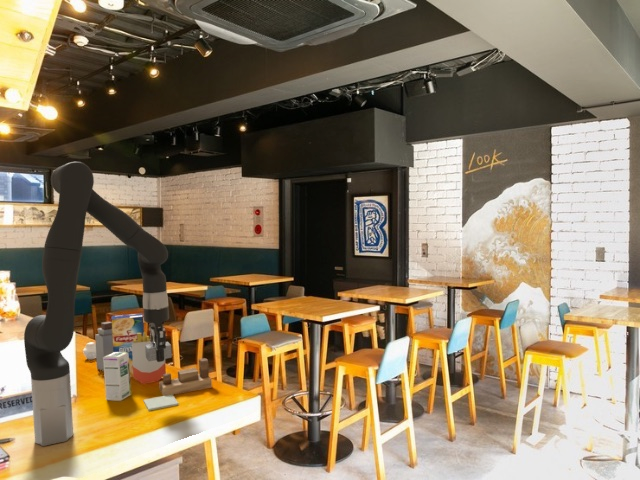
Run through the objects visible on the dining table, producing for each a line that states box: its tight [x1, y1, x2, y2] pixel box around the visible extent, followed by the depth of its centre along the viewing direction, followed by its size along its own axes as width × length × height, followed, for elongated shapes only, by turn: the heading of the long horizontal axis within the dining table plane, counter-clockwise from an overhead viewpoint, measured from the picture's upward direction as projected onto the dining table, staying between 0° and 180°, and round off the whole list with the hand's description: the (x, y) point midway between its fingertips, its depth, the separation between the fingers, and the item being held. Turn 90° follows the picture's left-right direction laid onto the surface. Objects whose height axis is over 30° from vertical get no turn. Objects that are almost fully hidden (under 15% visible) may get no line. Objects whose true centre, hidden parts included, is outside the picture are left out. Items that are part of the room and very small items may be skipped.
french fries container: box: [132, 331, 167, 384], centre depth 183 cm, size 5×11×18 cm, turn 113°
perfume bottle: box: [94, 321, 113, 372], centre depth 199 cm, size 7×7×18 cm
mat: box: [143, 394, 180, 412], centre depth 161 cm, size 9×9×1 cm
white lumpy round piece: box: [82, 341, 96, 360], centre depth 214 cm, size 6×6×7 cm
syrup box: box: [103, 352, 132, 402], centre depth 166 cm, size 6×6×14 cm
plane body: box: [158, 357, 213, 396], centre depth 173 cm, size 7×16×9 cm, turn 118°
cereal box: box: [110, 312, 145, 378], centre depth 191 cm, size 7×11×22 cm, turn 112°
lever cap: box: [145, 341, 173, 361], centre depth 160 cm, size 5×7×4 cm
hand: (158, 358), depth 160 cm, fingers closed on lever cap, 5 cm apart
